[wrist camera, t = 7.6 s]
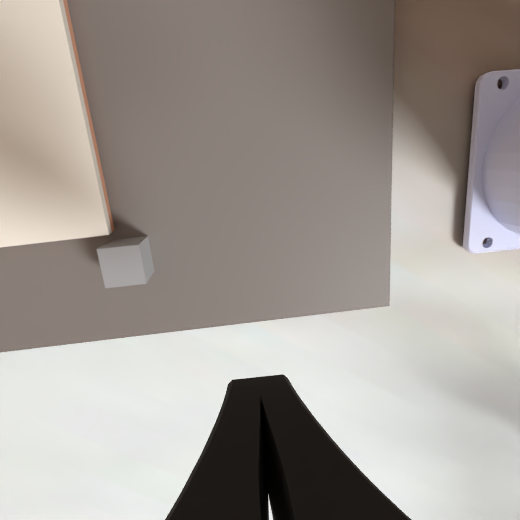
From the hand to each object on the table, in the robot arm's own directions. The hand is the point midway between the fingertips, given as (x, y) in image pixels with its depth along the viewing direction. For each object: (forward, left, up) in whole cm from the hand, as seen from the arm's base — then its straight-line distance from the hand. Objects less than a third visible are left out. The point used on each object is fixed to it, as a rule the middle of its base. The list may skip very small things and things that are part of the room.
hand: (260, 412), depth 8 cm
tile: (+5, -8, -8) cm, 13 cm away
